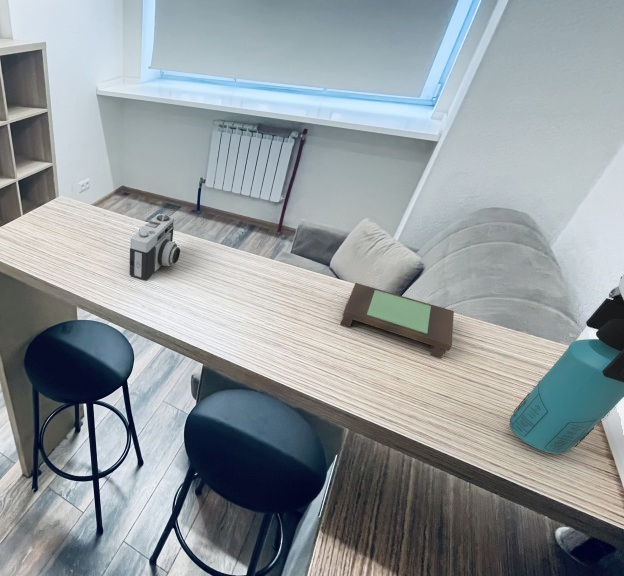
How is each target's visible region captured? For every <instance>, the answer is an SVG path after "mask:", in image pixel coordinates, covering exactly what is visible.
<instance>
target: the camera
mask: <svg viewBox="0 0 624 576" xmlns="http://www.w3.org/2000/svg"><path fill="white" fill-rule="evenodd" d="M174 228H175V217H174V216H172V215H168V214H162V213H157V215H155V216H154V217H152V218H151V220H149V223H146V224H145V225H144V226H140V228H139V229H138V231H136V233H135V234H134V235H132V236H131V237H130V244H129V245H130V247H129V276H130V277H132V278H134V279H138V280H142V281H148V280H149V279H150V278H151V276H152V275H154V273H155V272H157V271H158V270H159V269H160V268H161V267H165V266H166V267H167V266H168V267H171V266H172V265H175V264H177V262H178V260H179V258H180V255H181V248H180V247H178V244H177V243H176V241H175V240H174V230H175V229H174Z"/></svg>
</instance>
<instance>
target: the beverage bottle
mask: <svg viewBox="0 0 624 576" xmlns="http://www.w3.org/2000/svg"><path fill="white" fill-rule="evenodd" d="M595 336H596V338H586V339H585V338H584V339H578V340H574V341H572V342H571V343H570V344H569V346H568V347H567V349H566V350H565V351H564V352H563V353H562V355H561V356H560V357H559V358H558V359H557V360H556V362H555V363H554V364H553V365H552V367H550V368H549V369H548V370H546V372H545V373H544V376H543V377H541V378H540V379H539V380H538V382H535V384H534V385H533V388H531V389H530V392H528V393H527V395H526V396H524V398H523V399H522V400H521V402H520V403H519V404H518V405H517V407H515V409H514V410H513V411H512V412H511V414H510V417H509V426H510V428H511V430H512V432H513V433H514V435H516V436H517V437H518V438H519V439H520V440H521V441H523V442H524V443H526V444H527V445H529V446H531V447H533V448H534V449H537V450H539V451H542V452H544V453H548V454H552V455H561V454H565V453H570V452H571V451H573V449H574V448H576V447H577V446H578V445H579V444H580V443H582V441H583V440H585V438H586V437H587V436H589V434H591V433H592V432H593V431H594V429H595V428H598V426H600V424H601V423H602V422H603V421H604V420H605V419H606V418H607V417H608V416H609V414H611V412H612V410H616V407H617V405H618V404H619V403H620V402H621V400H622V399H624V382H620V381H617V380H614V379H611V378H607V377H605V376H604V375H603V372H602V371H603V370H604V369H605V368H606V367H607V366H608V364H609V363H610V362H611V361H612V360H613V359H614V358H615V357H616V356H617V355H618V354H619V353H620V352H621V351H622V350H623V349H624V319H611V320H609V321H608V322H607V323H606V324H605V325H604V326H603V327H601V328H600V329H599V330H597V331H596V332H595Z"/></svg>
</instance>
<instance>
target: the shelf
mask: <svg viewBox="0 0 624 576" xmlns="http://www.w3.org/2000/svg"><path fill="white" fill-rule="evenodd" d="M454 313H455V310H452V309H448V308H445V307H441V306H438V305H434V304H432V303H427V302H424V301H421V300H417V299H413V298H409V297H406V296H403V295H400V294H396V293H393V292H390V291H386V290H382V289H380V288H375V287H372V286H368V285H366V284H361V283H358V282H355V283H354V285H353V288H352V290H351V292H350V294H349V298H348V300H347V303H346V305H345V308H344V310H343V313H342V315H341V316H342V318H341V321H340V325H341V326H344V327H346V328H350V327H351V325H352V323H353V321H356V322H359V323H363V324H366V325H369V326H371V327H375V328H378V329H381V330H383V331H386V332H390V333H393V334H395V335H399V336H402V337H405V338H407V339H411V340H414V341H417V342H419V343H423V344H427V345H429V346H430V352H429V356H432V357H434V358H437V359H442V358H443V357H444V355H445V353H446V351H448V352H449V351H450V349H451V348H452V347H453V335H454V333H453V332H454V319H455V318H454V315H455V314H454Z"/></svg>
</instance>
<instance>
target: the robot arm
mask: <svg viewBox="0 0 624 576" xmlns="http://www.w3.org/2000/svg"><path fill="white" fill-rule="evenodd" d="M611 319H624V274H622V276H620V280H619V282H618V286H615V287H614V288H613V289H611V290H610V291H609V293H608V298H605V299H604V300H603V302H602V303H601V304H600V305H599V306H598V307H597V309H596V310H594V312H593V313H592V314H591V316H589V318H588V319H587V320H586V321H585V324H586V327H588V328H590V329H594V330H597V331H598V330H599V329H600V328H601V327H603V326H604V325H605V324H606V323H607V322H608V321H609V320H611ZM602 372H603V375H604V376H605V377H607V378H611V379H614V380H617V381H620V382H624V349H623V350H622V351H621V352H620V353H619V354H618V355H617V356H616V357H615V358H614V359H613V360H612V361H611V362H610V363H609V364H608V366H607V367H606V368H605V369H604V370H603V371H602Z"/></svg>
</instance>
